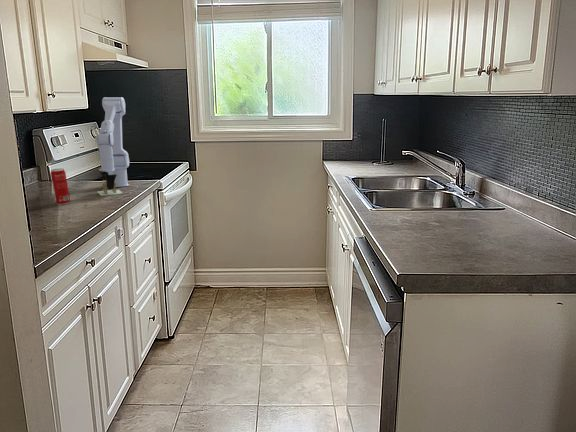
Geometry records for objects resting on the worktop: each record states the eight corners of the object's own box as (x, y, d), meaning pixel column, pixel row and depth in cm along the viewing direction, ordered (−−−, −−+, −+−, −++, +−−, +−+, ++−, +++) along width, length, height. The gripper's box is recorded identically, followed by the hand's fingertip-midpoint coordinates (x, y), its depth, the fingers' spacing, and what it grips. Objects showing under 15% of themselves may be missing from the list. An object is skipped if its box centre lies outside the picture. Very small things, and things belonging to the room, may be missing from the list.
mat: (97, 192, 237) (97, 191, 237) (118, 190, 242) (118, 189, 242) (100, 196, 229) (100, 195, 229) (123, 193, 234) (122, 193, 234)
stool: (114, 190, 239) (113, 179, 237) (116, 192, 235) (115, 181, 233) (103, 191, 236) (102, 180, 235) (105, 193, 232) (104, 182, 231)
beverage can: (72, 202, 217) (69, 168, 213) (64, 205, 211) (60, 170, 207) (59, 201, 218) (55, 167, 214) (51, 205, 211) (47, 170, 208)
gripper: (95, 157, 236) (98, 186, 239) (100, 161, 224) (103, 191, 227) (110, 156, 239) (113, 184, 243) (116, 160, 227) (119, 189, 230)
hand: (109, 187), depth 235 cm, fingers open, 7 cm apart
